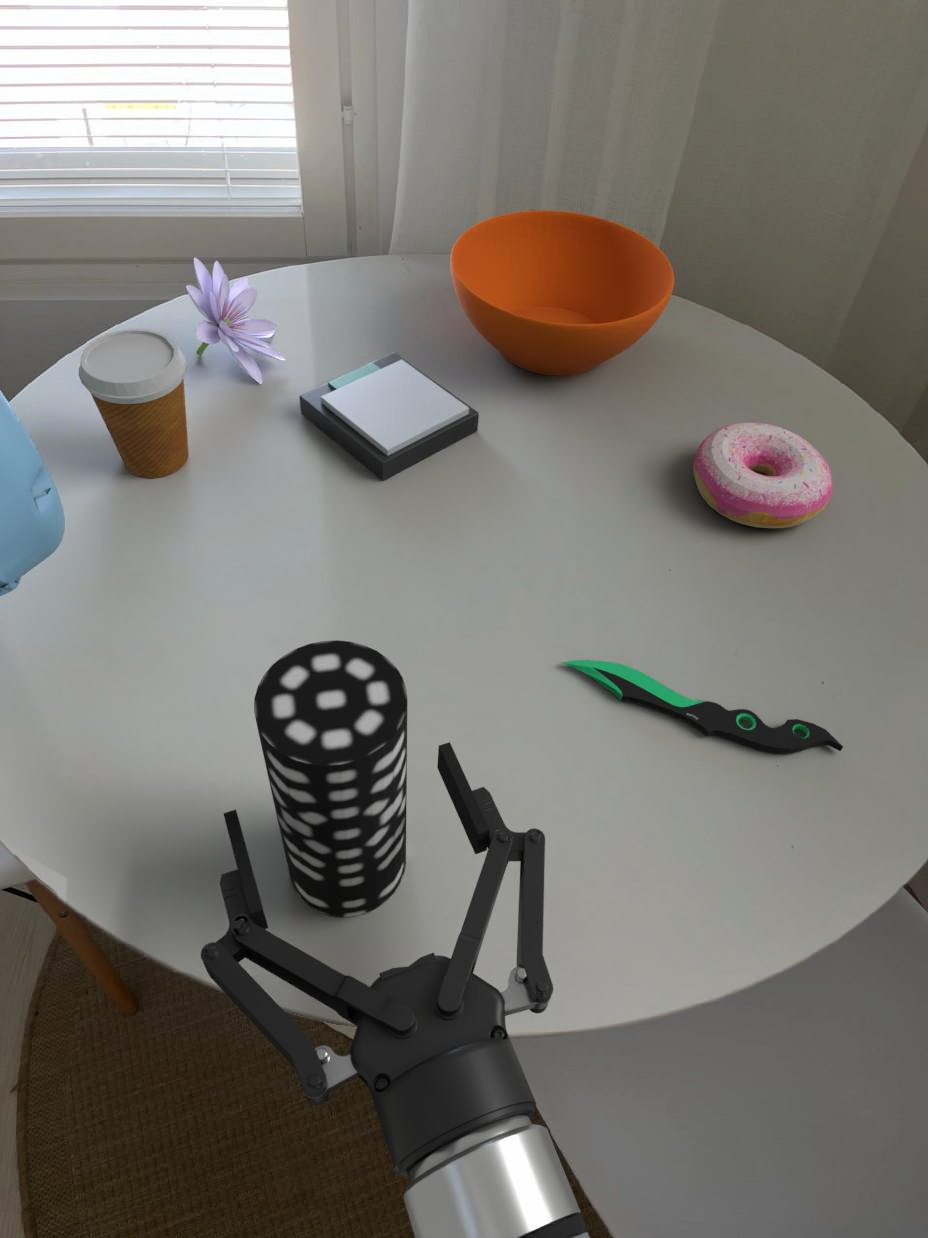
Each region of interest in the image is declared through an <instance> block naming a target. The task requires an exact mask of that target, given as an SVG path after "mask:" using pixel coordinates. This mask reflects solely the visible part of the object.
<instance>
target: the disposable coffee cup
mask: <svg viewBox="0 0 928 1238" xmlns="http://www.w3.org/2000/svg"><path fill="white" fill-rule="evenodd" d="M186 371H187V359H186V356H185V354H184V352H182V350H181V349H180V348H179V347H178V345H177V343H176V342H175V340H173V338H172V337H170V336H168V335H167V334H165V333H163V332H160V331H156V330H152V329H148V328H147V329H146V328H126V329H119V330H115V331H110V332H108V333H105V334H104V335H101V336H99V337H97V338H95V339H94V340H92V341H91V342H89V343H88V344H87V346H86V347H85V348H84V349H83V350H82V352H81V356H80V365H79V367H78V377H79V380H80V382H81V385H83V386H84V388H85V389H86V390H87V391H88V392H89V393H90V395H91V397H92V400H93V402H94V403H95V405H96V408H97V409H98V412H99V414H100V416H101V418H102V420H103V423H104V425H105V427H106V429H107V430H108V433H109V435H110V437H111V439H112V441H113V443H114V445H115V447H116V449H117V452H118V454H119V455H120V458H121V461H122V462H123V464H124V466H125V468H126V469H127V470H128V471H129V472H130V473H132V474H133V475H136V476H138V477H141V478H147V479H153V478H154V479H157V478H164V477H167V476H171V475H172V474H174V473H176V472H178V471H179V470H180V469H182V468H184V466H185V465H186V464H187V462H188V460H189V456H190V453H189V452H190V451H189V441H188V437H189V436H188V423H187V410H186V409H187V406H186V395H185V379H184V378H185V373H186Z"/></svg>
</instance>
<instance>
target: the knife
mask: <svg viewBox="0 0 928 1238" xmlns="http://www.w3.org/2000/svg"><path fill="white" fill-rule="evenodd" d="M560 663H562V664H564V665H566V666H569V667H572V668H573V669H576V670H578V671H580V672H582V673H584V674H586V675H587V676H588V677H590V678H592V679H593V680H594V681H596V682H597V683H599V684H600V685H602V687H604V688H606V689H607V690H608V691H610V692H611V693H613V694H614V695H615V696H616V697H617V698H618V699H619V700H620V701H621V702H629V703H634V704H637V705H640V706H644V707H647V708H650V709H652V710H655V711H658V712H660V713H663V714H667V715H668V716H671V717H674V718H676V719H678V720H681V721H682V722H684V723H686V724H689V725H690V726H692V727H694V728H695V729H697V730H699V731H700V732H701V733H702V734H704V736H705V737H708V736H714V735H715V736H719V737H723V738H724V739H727V740H731V741H733V742H736V743H737V744H738V743H739V744H742V745H744V746H747V747H750V748H752V749H756V750H760V751H763V752H767V753H772V754H781V755H789V754H793V753H797V752H802V751H804V750H807V749H810V748H813V747H819V746H828V747H831V748H832V749H834V750H836V751H839V752H841V751H842V749H843V748H844V746H843V745H842V744H841V743H840V742H839V741H838V740H837V739H836V738H835V737H834V736H833V735H832V733H830V732H829V731H828V730H827V729H826V728H825V727H822V726H819V725H817V724H815V723H812V722H809V721H805V720H802V719H798V718H795V719H794V718H793V719H789V718H788V719H786V721H785V723H783V724H781V725H780V726H776V727H772V726H769V725H767V724H766V723H764V721H763V720H762V719H761V718H759V716H758V715H757V713H755V712H754V711H752V710H749V709H747V708H737V709H730V710H729V709H727V708H725V707H724V706H723V705H721V704H719V703H717V702H714V701H709V700H698V699H692V698H689V697H686V696H684V695H682V694H680V693H678V692H676V691H675V690H673V689H671V688H670V687H668V686H666V685H665V684H663V683H661V682H659V681H658V680H656V679H654V678H653V677H651V676H650V675H647V674H646V673H644V672H643V671H640V670H638V669H635V668H634V667H631V666H628V665H625V664H621V663H617V662H613V661H607V660H596V659H595V660H593V659H574V660H567V661H560ZM740 720H746V721H748V722H749V723H750V725H751V727H750V728H745V727H742V726H741V725H740V723H739V721H740ZM795 730H799V731H802V732H803V733H804V734H805V736H804V737H799V736H797V735H796V733H795Z"/></svg>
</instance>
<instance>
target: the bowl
mask: <svg viewBox="0 0 928 1238" xmlns="http://www.w3.org/2000/svg"><path fill="white" fill-rule="evenodd" d="M449 265H450V266H449V270H450V276H451V282H452V286H453V289H454V292H455V295H456V297H457V300H458V302H459V305H460V306H461V308H462V310H463V311H464V313H465V315H466V317H467V318H468V320H469V321H470V323H471V324H472V325H473V327H474V328H475V329H476V331H477V332H478V333H479V334H480V335H481V336H482V337H483V338H484V339H485V340H486V342H488V343H489V344H490V345H491V346H492V347H493V348H494V349H496V351H497V352H498V353H499V354H500V355H501V356H502V357H503V358H505V359H506V360H507V361H508V362H510V363H511V364H512V365H515V366H517V367H519V368H520V369H523V370H526V371H529V372H532V373H536V374H541V375H547V376H572V375H577V374H582V373H585V372H587V371H590V370H593V369H595V368H596V367H597V366H599V365H600V364H602V363H604V362H606V361H609V360H611V359H613V358H615V357H617V356H618V355H619V354H622V353H624V352H625V351H626V350H627V349H629V348H631V347H632V346H633V345H634V344H636V343H637V342H638V341H639V340H640V339H641V338H643V337H644V336H645V335H646V334H647V333H648V332H649V330H651V329H652V328H653V326H654V325H655V324H656V323H657V322H658V320H659V319H660V317H661V316H662V314H663V313H664V311H665V309H666V307H667V306H668V303H669V301H670V299H671V296H672V294H673V291H674V287H675V273H674V269H673V266H672V264H671V261H670V260H669V259H668V257H667V256H666V254H665V253H664V252H663V251H662V250H661V249H660V248H659V246H658V245H656V244H655V243H654V242H652V241H651V240H650V239H648V238H647V237H646V236H644V235H643V234H640V233H639V232H637V231H635V230H634V229H632V228H630V227H627V226H625V225H623V224H620V223H618V222H616V221H612V220H608V219H607V218H606V219H605V218H603V217H598V216H594V215H591V214H587V213H586V214H585V213H580V212H573V211H565V210H554V209H553V210H552V209H550V210H549V209H548V210H547V209H545V210H544V209H541V210H538V209H537V210H534V209H533V210H523V211H516V212H515V211H514V212H509V213H504V214H500V215H497V216H493V217H490V218H488V219H484V220H483V221H480V222H477V223H476V224H475V225H472V226H471V227H469V229H467V230H465V231H464V232H463V233H462V234H461V235H460V236H459V237H458V238H457V240H456V241H455V242H454V244H453V247H452V249H451V253H450V257H449Z"/></svg>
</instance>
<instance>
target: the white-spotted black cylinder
mask: <svg viewBox="0 0 928 1238" xmlns="http://www.w3.org/2000/svg"><path fill="white" fill-rule="evenodd" d="M407 692H408V691H407V686H406V684H405V681H404V678H403V676H402V674H401V672H400V671H399V670H398V668H397V667H396V665H395V664H394V663H393V662H392V661H391V660H390V659H389V658H388V657H386V656H385V655H383V654H382V653H381V652H379V651H378V650H376V649H374V648H372V647H369V646H367V645H365V644H362V643H357V642H354V641H349V640H348V641H346V640H339V639H338V640H321V641H317V642H311V643H308V644H305V645H302V646H300V647H297V648H295V649H293V650H291V651H289V652H287V653H285V654H283V655H282V656H281V657H280V658H279V659H277V660H276V661H275V662H274V663H273V664H272V665H271V666H270V667H269V668H268V669H267V670H266V672H265V673H264V674H263V676H262V677H261V680H260V681H259V684H258V685H257V688H256V692H255V694H254V698H253V699H254V700H253V701H254V702H253V713H254V718H255V722H256V727H257V732H258V737H259V740H260V747H261V751H262V754H263V759H264V760H263V761H264V764H265V768H266V773H267V778H268V782H269V787H270V791H271V796H272V802H273V806H274V811H275V815H276V818H277V819H276V820H277V823H278V828H279V832H280V833H279V834H280V837H281V840H282V841H281V843H282V846H283V850H284V855H285V860H286V864H287V865H286V866H287V869H288V873H289V879H290V882H291V884H292V886H293V889H294V891H295V893H296V894H297V895H298V896H299V897H300V899H301V901H303V902H304V903H305V904H306V905H308V906H309V907H310V908H311V909H314V910H315V911H317V912H319V913H321V914H324V915H326V916H330V917H339V918H348V917H351V918H352V917H357V916H361V915H364V914H367V913H370V912H371V911H374V910H375V909H378V908H379V907H381V906H382V905H384V903H386V902H387V901H388V900H389V899H390V898H391V897H392V896H393V895H394V894H395V893H396V891H397V889H398V887H399V886H400V884H401V882H402V879H403V878H404V875H405V872H406V871H405V869H406V864H407V793H408V792H407V791H408V789H407V788H408V787H407V786H408V785H407V783H408V781H407V780H408V779H407V778H408V693H407Z"/></svg>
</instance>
